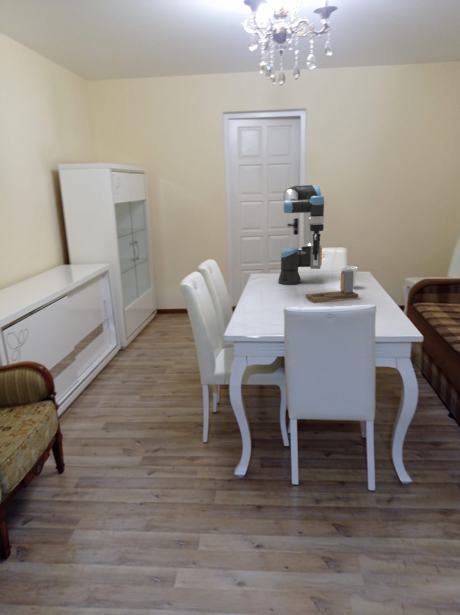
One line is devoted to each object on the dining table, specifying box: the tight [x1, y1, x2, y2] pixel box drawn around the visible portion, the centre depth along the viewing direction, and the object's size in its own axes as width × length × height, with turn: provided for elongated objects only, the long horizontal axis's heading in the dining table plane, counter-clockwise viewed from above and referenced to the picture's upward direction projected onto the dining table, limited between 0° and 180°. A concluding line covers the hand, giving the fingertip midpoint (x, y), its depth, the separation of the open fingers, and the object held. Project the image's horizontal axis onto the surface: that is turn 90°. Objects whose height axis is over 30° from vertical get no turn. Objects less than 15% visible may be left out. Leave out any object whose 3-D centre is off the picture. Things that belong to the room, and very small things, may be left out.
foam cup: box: [341, 265, 359, 289], centre depth 274 cm, size 10×9×13 cm
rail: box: [305, 290, 359, 304], centre depth 251 cm, size 10×28×2 cm, turn 103°
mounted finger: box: [339, 270, 354, 294], centre depth 251 cm, size 4×6×13 cm, turn 103°
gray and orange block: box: [309, 245, 323, 270], centre depth 250 cm, size 4×6×13 cm, turn 72°
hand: (316, 264), depth 251 cm, fingers closed on gray and orange block, 4 cm apart
